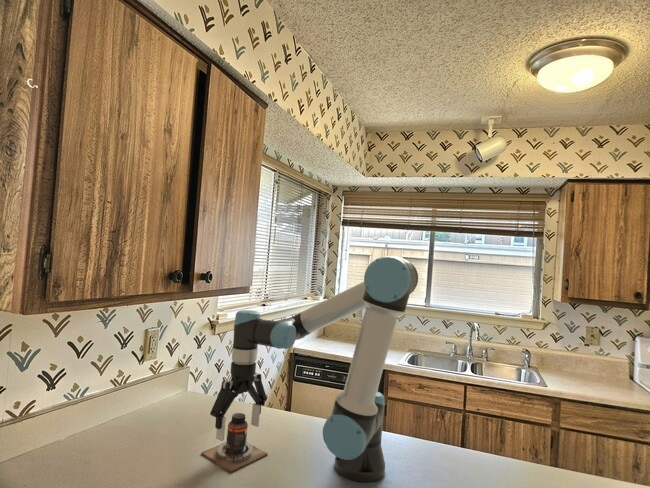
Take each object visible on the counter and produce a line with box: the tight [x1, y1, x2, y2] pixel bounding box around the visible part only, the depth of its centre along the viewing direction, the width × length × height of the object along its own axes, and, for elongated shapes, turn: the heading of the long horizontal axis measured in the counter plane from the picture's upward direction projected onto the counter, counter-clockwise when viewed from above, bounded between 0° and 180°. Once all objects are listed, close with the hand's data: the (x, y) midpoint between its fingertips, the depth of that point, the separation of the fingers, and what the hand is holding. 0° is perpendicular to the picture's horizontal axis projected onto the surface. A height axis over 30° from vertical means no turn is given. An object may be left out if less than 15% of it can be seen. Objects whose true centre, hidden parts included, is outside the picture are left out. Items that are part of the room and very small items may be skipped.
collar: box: [217, 441, 253, 462], centre depth 116 cm, size 11×11×1 cm
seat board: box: [200, 444, 268, 474], centre depth 116 cm, size 14×14×1 cm
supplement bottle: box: [225, 412, 249, 456], centre depth 116 cm, size 6×6×11 cm
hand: (238, 432), depth 116 cm, fingers open, 13 cm apart
